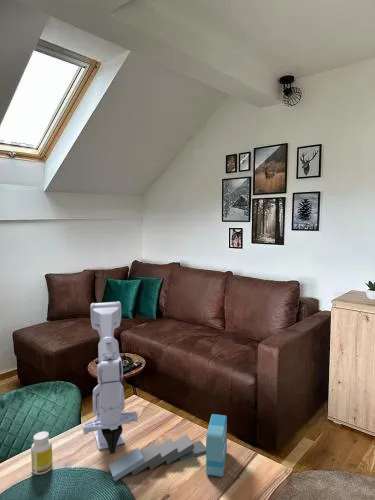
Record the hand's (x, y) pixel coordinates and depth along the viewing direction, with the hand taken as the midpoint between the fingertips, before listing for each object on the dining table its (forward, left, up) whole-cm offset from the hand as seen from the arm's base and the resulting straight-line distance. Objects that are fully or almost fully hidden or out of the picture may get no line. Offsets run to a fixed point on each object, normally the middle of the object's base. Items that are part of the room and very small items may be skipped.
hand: (111, 451), depth 94 cm
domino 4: (0, +19, -7) cm, 21 cm away
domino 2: (0, +10, -6) cm, 12 cm away
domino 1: (0, +5, -6) cm, 8 cm away
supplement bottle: (-11, -18, -7) cm, 22 cm away
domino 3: (0, +15, -6) cm, 16 cm away
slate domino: (0, 0, -6) cm, 6 cm away
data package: (+8, +28, -7) cm, 30 cm away
